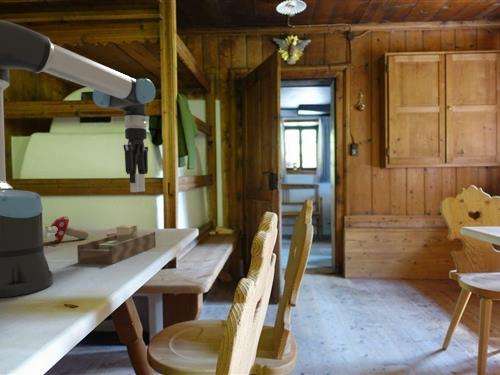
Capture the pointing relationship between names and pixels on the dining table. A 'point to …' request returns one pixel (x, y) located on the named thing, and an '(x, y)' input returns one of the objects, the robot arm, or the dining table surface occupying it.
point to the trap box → (114, 249)
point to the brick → (112, 232)
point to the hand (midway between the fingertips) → (137, 191)
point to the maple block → (126, 232)
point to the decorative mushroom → (67, 230)
